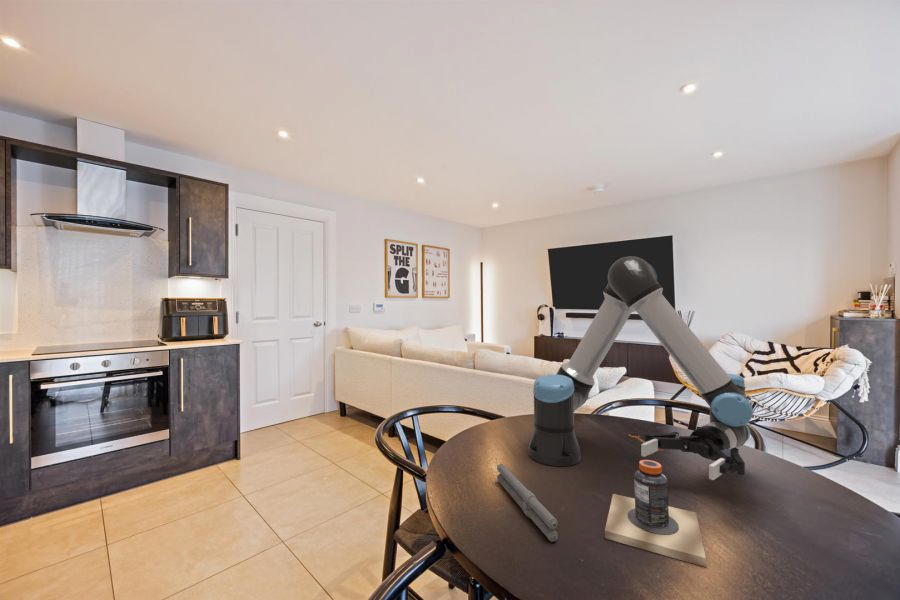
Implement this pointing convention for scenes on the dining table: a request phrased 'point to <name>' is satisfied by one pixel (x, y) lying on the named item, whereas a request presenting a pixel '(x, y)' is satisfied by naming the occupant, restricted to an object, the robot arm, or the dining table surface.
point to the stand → (656, 532)
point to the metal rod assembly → (528, 503)
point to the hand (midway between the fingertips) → (674, 460)
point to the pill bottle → (651, 494)
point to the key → (641, 439)
